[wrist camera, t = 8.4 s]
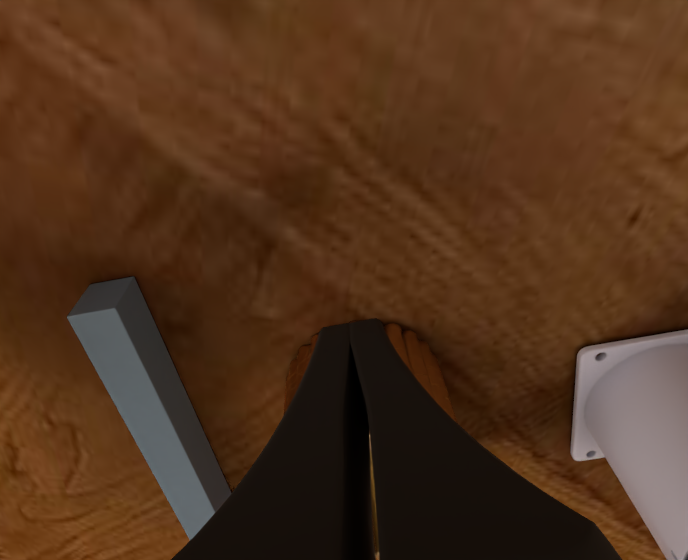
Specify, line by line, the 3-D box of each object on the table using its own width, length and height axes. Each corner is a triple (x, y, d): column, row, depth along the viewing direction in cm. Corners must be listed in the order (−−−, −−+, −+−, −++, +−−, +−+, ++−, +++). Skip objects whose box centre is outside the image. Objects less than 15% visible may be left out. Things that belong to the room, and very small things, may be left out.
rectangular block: (134, 275, 22) (115, 308, 20) (237, 507, 30) (232, 547, 28) (89, 283, 22) (65, 316, 20) (204, 512, 30) (196, 553, 28)
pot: (302, 265, 26) (509, 288, 22) (334, 418, 32) (505, 461, 27) (173, 399, 19) (445, 473, 14) (244, 567, 24) (457, 658, 20)
